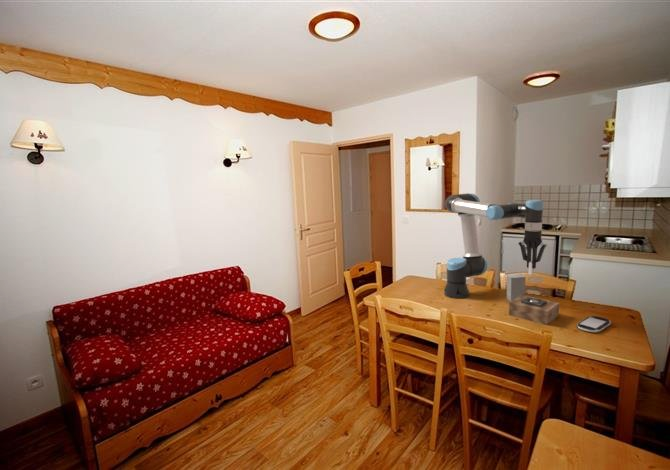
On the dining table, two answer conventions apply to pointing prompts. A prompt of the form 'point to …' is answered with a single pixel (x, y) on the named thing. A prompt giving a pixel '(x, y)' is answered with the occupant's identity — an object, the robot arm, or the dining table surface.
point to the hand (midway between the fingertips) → (530, 273)
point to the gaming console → (593, 324)
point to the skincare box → (515, 286)
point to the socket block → (534, 309)
